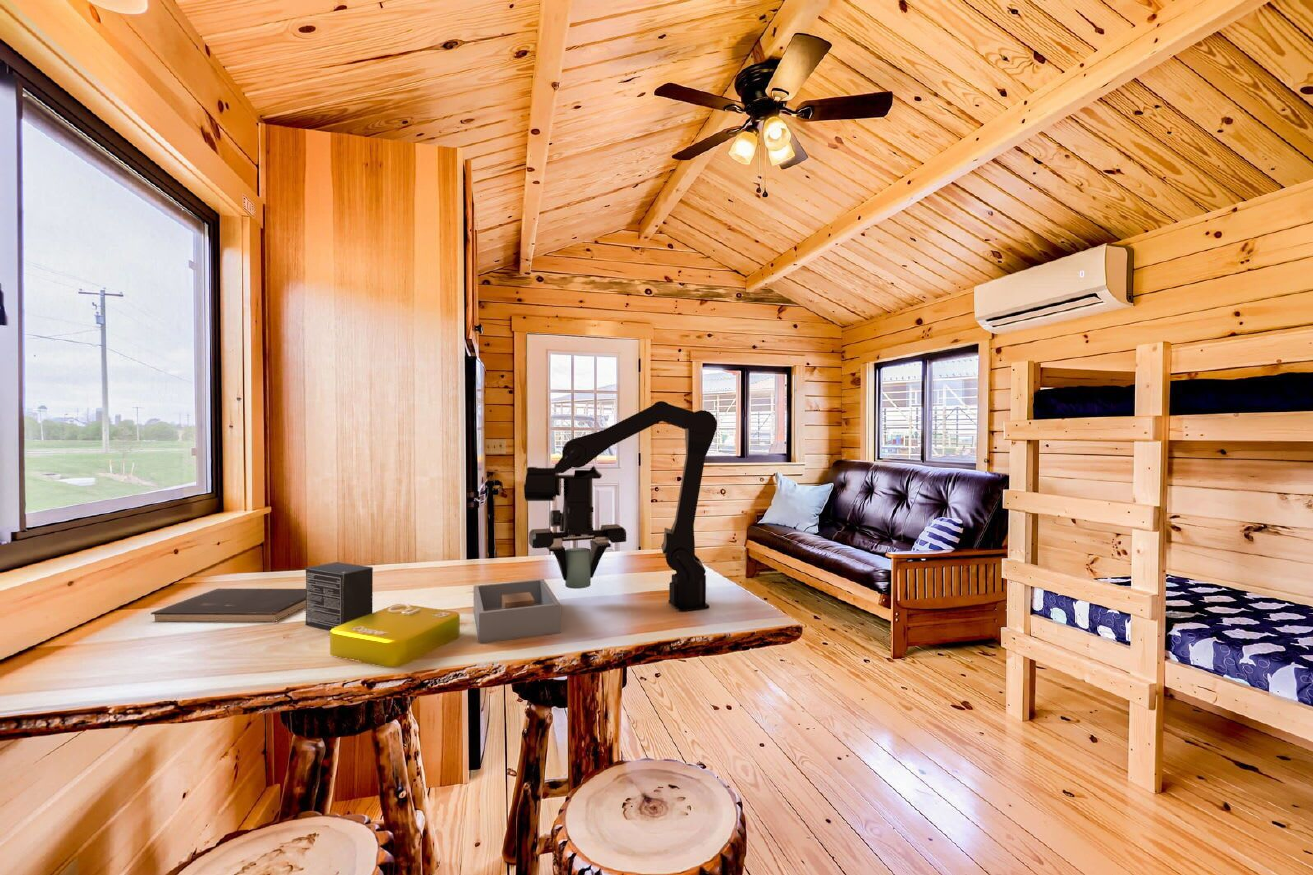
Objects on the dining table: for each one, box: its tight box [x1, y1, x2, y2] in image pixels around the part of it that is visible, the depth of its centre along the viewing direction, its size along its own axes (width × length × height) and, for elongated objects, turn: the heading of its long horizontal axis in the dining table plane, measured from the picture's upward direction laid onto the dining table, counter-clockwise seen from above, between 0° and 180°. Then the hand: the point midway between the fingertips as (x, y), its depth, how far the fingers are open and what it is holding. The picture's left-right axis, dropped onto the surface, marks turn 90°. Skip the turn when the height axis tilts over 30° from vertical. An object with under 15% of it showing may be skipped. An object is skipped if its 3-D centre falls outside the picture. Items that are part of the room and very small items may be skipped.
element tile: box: [329, 603, 461, 668], centre depth 92 cm, size 15×15×5 cm
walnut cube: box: [502, 592, 534, 609], centre depth 100 cm, size 5×5×5 cm
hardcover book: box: [150, 588, 306, 623], centre depth 111 cm, size 16×23×2 cm
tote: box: [473, 578, 561, 644], centre depth 103 cm, size 14×18×5 cm
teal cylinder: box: [564, 547, 592, 590], centre depth 112 cm, size 5×5×7 cm
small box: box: [305, 561, 374, 631], centre depth 102 cm, size 11×6×10 cm, turn 65°
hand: (578, 578), depth 112 cm, fingers closed on teal cylinder, 5 cm apart
